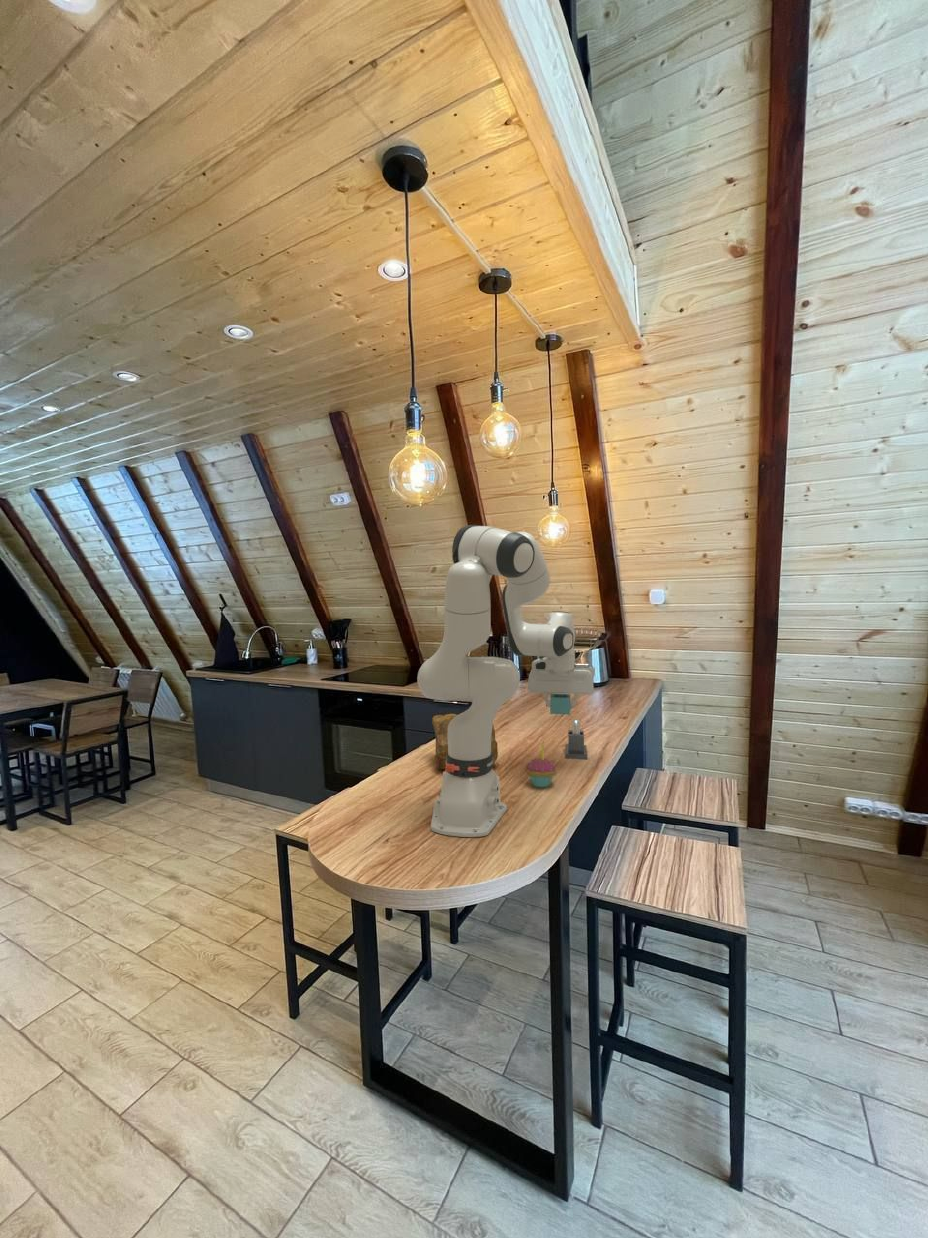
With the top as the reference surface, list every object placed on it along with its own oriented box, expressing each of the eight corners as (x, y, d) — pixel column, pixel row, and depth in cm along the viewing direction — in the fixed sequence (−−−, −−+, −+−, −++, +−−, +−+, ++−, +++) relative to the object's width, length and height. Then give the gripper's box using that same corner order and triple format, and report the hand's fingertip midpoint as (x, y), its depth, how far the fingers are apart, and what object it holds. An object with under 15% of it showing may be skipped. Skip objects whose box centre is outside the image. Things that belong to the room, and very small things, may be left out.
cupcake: (531, 776, 146) (531, 737, 145) (559, 781, 142) (559, 740, 142) (522, 787, 139) (521, 745, 138) (551, 792, 135) (551, 749, 134)
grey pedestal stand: (587, 759, 160) (587, 724, 159) (565, 758, 162) (565, 723, 161) (586, 746, 173) (586, 714, 172) (565, 745, 174) (565, 713, 173)
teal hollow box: (570, 709, 156) (570, 694, 156) (570, 714, 150) (570, 698, 150) (551, 708, 158) (551, 693, 157) (550, 713, 152) (550, 697, 151)
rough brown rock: (412, 769, 156) (410, 724, 153) (441, 750, 170) (440, 708, 167) (475, 786, 143) (474, 738, 141) (501, 764, 157) (500, 719, 155)
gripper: (594, 662, 154) (594, 705, 155) (528, 660, 158) (529, 703, 159) (595, 665, 147) (595, 710, 149) (527, 664, 152) (527, 708, 153)
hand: (560, 706), depth 154 cm, fingers closed on teal hollow box, 6 cm apart
